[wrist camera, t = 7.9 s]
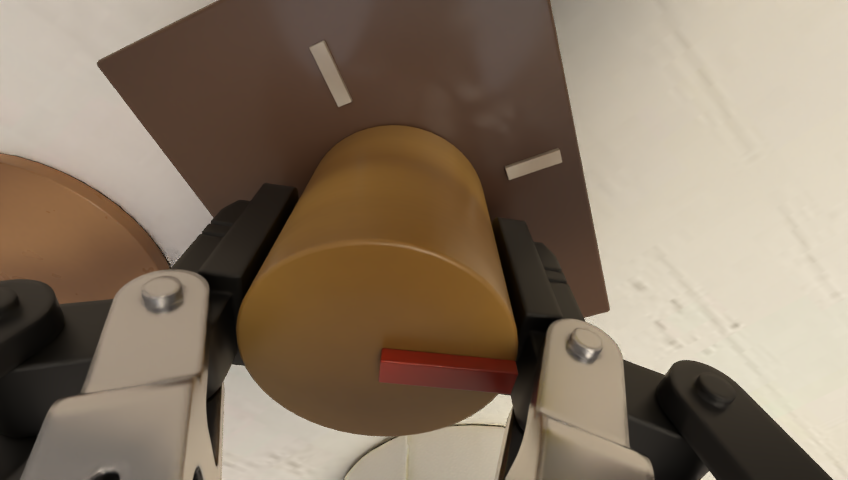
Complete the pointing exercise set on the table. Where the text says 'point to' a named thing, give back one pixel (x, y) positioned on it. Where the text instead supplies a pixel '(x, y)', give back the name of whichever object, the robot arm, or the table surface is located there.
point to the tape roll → (435, 456)
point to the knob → (383, 292)
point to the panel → (370, 102)
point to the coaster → (68, 234)
